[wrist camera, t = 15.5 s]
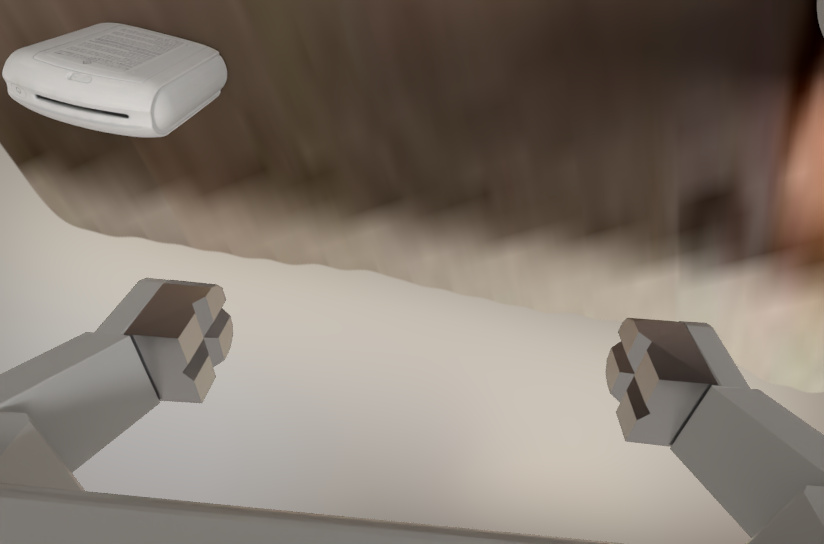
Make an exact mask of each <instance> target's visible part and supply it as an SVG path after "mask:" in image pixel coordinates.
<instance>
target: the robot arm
mask: <svg viewBox="0 0 824 544" xmlns="http://www.w3.org/2000/svg"><path fill="white" fill-rule="evenodd" d="M817 16H818V22H819V26H820V29H821V32H822V34H823V36H824V0H817ZM225 301H226V298H225V295H224V292H223V288H222V287H220V286H218V285H215V284H206V283H196V282H186V281H177V280H163V279H153V278H145V279H142V280H140V281H139V282H138V283H137V284H136V285H135V286H134V287H133V289H132V290H131V291H130V292H129V293H128V294H127V295H126V297H125V298H124V299H123V300H122V301H121V303H120V304H119V305H118V306H117V307H116V308H115V309H114V311H113V312H112V313H111V314H110V315H109V316H108V317H107V319H106V320H105V321H104V322H103V323H102V324H101V325H100V327H99V328H98V329H97V330H96V331H95V332H94V333H91V332H86V333H84V334H82V335H80V336H78V337H76V338H73V339H71V340H69V341H68V342H65V343H63V344H61V345H59V346H57V347H55V348H53V349H51V350H49V351H47V352H45V353H43V354H41V355H39V356H37V357H35V358H33V359H31V360H29V361H27V362H25V363H23V364H21V365H19V366H16V367H15V368H12V369H10V370H8V371H6V372H4V373H2V374H0V544H622V543H612V542H601V541H592V540H581V539H571V538H560V537H551V536H540V535H530V534H520V533H510V532H499V531H488V530H479V529H469V528H457V527H448V526H438V525H427V524H417V523H407V522H395V521H386V520H375V519H365V518H355V517H344V516H334V515H324V514H313V513H303V512H293V511H282V510H272V509H261V508H251V507H241V506H231V505H221V504H210V503H200V502H190V501H179V500H169V499H159V498H149V497H138V496H129V495H118V494H108V493H98V492H87V491H85V490H84V489H83V487H82V486H81V485H80V483H79V482H78V481H77V479H76V478H75V477H74V476H73V474H72V472H73V471H75V470H76V469H77V468H78V467H80V466H81V465H82V464H83V463H85V462H86V461H87V460H88V459H90V458H91V457H92V456H94V455H95V454H96V453H97V452H99V451H100V450H101V449H102V448H104V447H105V446H106V445H107V444H109V443H110V442H111V441H112V440H114V439H115V438H116V437H117V436H119V435H120V434H121V433H123V432H124V431H125V430H126V429H128V428H129V427H130V426H131V425H133V424H134V423H135V422H136V421H138V420H139V419H140V418H141V417H143V416H144V415H145V414H147V413H148V412H149V411H150V410H152V409H153V408H154V407H155V406H157V405H158V404H159V403H160V401H175V402H191V403H192V402H193V403H202V402H203V400H204V399H205V397H206V395H207V393H208V391H209V389H210V387H211V385H212V383H213V381H214V379H215V377H216V375H215V372H214V369H213V367H214V366H216V365H217V364H219V363H221V362H222V361H223V360H225V358H226V356H227V354H228V352H229V350H230V346H231V342H232V337H233V326H232V321H231V316H230V315H229V314H228V313H226V312H225V311H224V310H223V309H222V306H223V304H224V303H225ZM618 333H619V336H620V339H621V342H619V343H618V344H616V345H615V346H613V347H612V348H611V350H610V353H609V356H608V358H607V364H606V379H607V385H608V388H609V391H610V394H612V395H613V396H614V397H615V398H616V399H617V400H618V401H619V402H620V405H619V407H618V409H617V411H616V414H617V417H618V420H619V423H620V426H621V429H622V432H623V435H624V438H625V441H627V442H636V443H644V444H653V445H662V446H670V447H671V448H670V449H671V450H672V451H673V453H674V454H675V455H676V456H677V457H678V458H679V459H680V460H681V461H682V462H683V464H684V465H685V466H686V467H687V468H688V469H689V470H690V471H691V472H692V473H693V475H694V476H695V477H696V478H697V479H698V480H699V481H700V482H701V483H702V484H703V485H704V487H705V488H706V489H707V490H708V491H709V492H710V493H711V494H712V495H713V497H714V498H715V499H716V500H717V501H718V502H719V503H720V504H721V505H722V506H723V508H724V509H725V510H726V511H727V512H728V513H729V514H730V515H731V516H732V517H733V519H734V520H735V521H736V522H737V523H738V524H739V525H740V526H741V527H742V528H743V530H744V531H745V532H746V533H747V534H748V535H749V536H750V537H751V539H750V540H748V542H746V543H745V544H824V435H823V434H822V433H820V432H819V431H817V430H816V429H814V428H813V427H811V426H810V425H809V424H807V423H806V422H804V421H803V420H802V419H800V418H799V417H797V416H796V415H794V414H793V413H792V412H790V411H788V410H787V409H786V408H785V407H783V406H782V405H780V404H779V403H777V402H776V401H775V400H773V399H772V398H770V397H769V396H768V395H766V394H764V393H763V392H762V391H760V390H758V389H750V387H749V386H748V384H747V382H746V381H745V379H744V377H743V376H742V374H741V373H740V371H739V369H738V368H737V366H736V364H735V363H734V361H733V360H732V358H731V356H730V355H729V353H728V352H727V350H726V348H725V347H724V345H723V343H722V342H721V340H720V339H719V337H718V335H717V334H716V332H715V330H714V329H713V328H712V327H711V326H710V325H709V324H707V323H698V322H682V321H680V322H676V321H662V320H649V319H635V318H627V319H626V320H625V321H624V322H623V323H622V325H621V327H620V329H619V331H618Z"/></svg>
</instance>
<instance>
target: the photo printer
mask: <svg viewBox="0 0 824 544" xmlns="http://www.w3.org/2000/svg"><path fill="white" fill-rule="evenodd" d="M2 76H3V78H4V80H5V81H6V84H7V88H8V94H9V95H10V97H11V98H12V99H14V100H15V101H16V102H18V103H20V104H21V105H23V106H25V107H27V108H28V109H30V110H32V111H34V112H37V113H39V114H42V115H44V116H47V117H49V118H52V119H55V120H58V121H61V122H65V123H68V124H72V125H75V126H79V127H83V128H87V129H92V130H96V131H101V132H106V133H112V134H118V135H125V136H133V137H163V136H166V135H168V134H169V133H171V132H172V131H173V130H175V129H176V128H177V127H179V126H180V125H181V124H183V123H184V122H185V121H187V120H188V119H189V118H191V117H192V116H193V115H195V114H196V113H197V112H199V111H200V110H201V109H203V108H204V107H205V106H207V105H208V104H209V103H210V102H212V101H213V100H214V99H216V98H217V97H218V96H219V95H220V93H221V91H220V90H221V89H222V88H223V86H224V85H225V83H226V80H227V69H226V65H225V63H224V60H223V59H222V57H221V56H220V55H219V52H218V51H217V50H215V49H213V48H211V47H208V46H206V45H203V44H200V43H196V42H193V41H189V40H186V39H182V38H178V37H174V36H171V35H167V34H163V33H159V32H155V31H151V30H147V29H143V28H139V27H134V26H130V25H125V24H120V23H99V24H96V25H93V26H90V27H87V28H84V29H81V30H78V31H74V32H71V33H68V34H65V35H62V36H59V37H56V38H52V39H49V40H46V41H43V42H39V43H36V44H33V45H30V46H27V47H23V48H20V49H18V50H16V51H14V52H13V53H12V54H11V55H10V56H9V58H8V59H7V60H6V62H5V65H4V68H3V72H2Z"/></svg>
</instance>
